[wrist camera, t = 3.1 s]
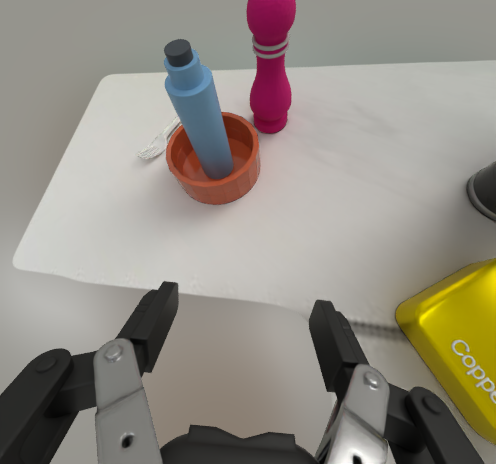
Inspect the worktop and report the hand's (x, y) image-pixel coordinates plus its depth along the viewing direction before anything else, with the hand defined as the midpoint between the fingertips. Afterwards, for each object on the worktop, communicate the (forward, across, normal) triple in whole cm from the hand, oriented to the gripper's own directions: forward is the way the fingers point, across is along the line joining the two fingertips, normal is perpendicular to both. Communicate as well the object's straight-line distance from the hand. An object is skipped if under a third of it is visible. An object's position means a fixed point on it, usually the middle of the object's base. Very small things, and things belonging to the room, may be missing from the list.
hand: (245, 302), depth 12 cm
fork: (+38, +16, -7) cm, 42 cm away
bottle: (+29, +6, -2) cm, 30 cm away
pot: (+30, +6, -2) cm, 30 cm away
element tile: (+8, -30, +10) cm, 32 cm away
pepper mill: (+37, -2, -11) cm, 39 cm away
